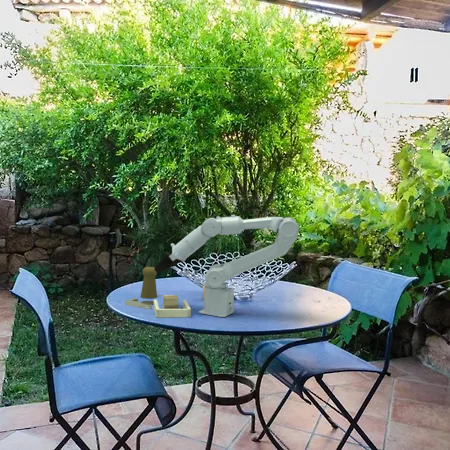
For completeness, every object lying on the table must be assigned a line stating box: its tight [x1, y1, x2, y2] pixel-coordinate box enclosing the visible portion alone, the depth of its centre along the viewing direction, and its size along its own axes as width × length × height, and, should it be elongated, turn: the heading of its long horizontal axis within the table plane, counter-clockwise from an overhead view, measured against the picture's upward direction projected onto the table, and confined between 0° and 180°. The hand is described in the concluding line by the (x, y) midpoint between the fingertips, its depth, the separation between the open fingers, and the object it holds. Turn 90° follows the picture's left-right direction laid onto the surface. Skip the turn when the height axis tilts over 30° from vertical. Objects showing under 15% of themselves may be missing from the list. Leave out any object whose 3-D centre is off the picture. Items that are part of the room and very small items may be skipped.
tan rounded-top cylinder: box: [202, 284, 205, 301], centre depth 185 cm, size 5×5×5 cm
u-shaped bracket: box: [152, 299, 192, 319], centre depth 165 cm, size 13×11×2 cm
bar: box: [124, 297, 153, 310], centre depth 171 cm, size 10×6×2 cm, turn 65°
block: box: [162, 294, 179, 309], centre depth 167 cm, size 4×4×4 cm
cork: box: [140, 266, 158, 300], centre depth 184 cm, size 6×6×11 cm
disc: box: [141, 300, 154, 306], centre depth 174 cm, size 6×6×1 cm
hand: (158, 269), depth 167 cm, fingers open, 7 cm apart
